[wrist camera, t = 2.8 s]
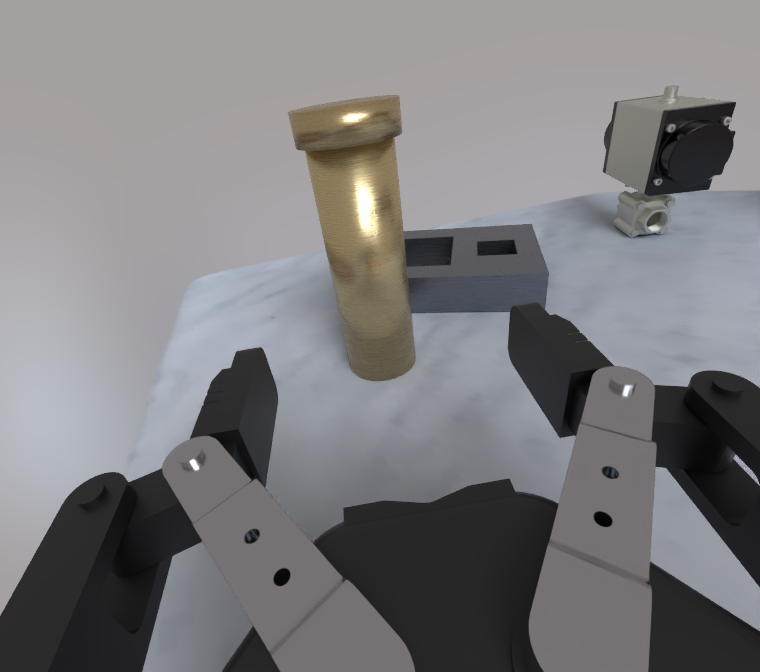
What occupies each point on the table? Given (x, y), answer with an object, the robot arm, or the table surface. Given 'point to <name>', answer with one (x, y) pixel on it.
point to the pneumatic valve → (664, 154)
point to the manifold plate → (475, 269)
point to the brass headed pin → (362, 226)
